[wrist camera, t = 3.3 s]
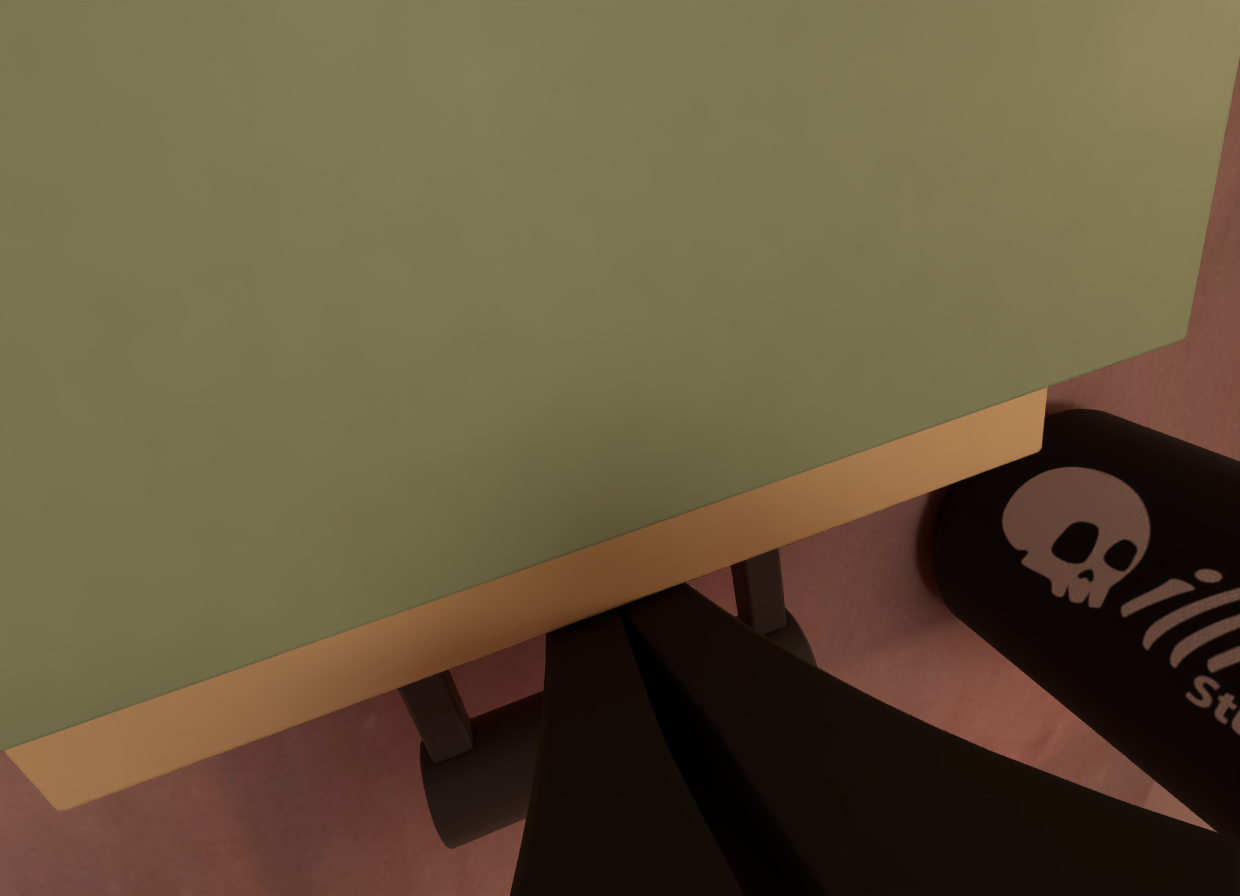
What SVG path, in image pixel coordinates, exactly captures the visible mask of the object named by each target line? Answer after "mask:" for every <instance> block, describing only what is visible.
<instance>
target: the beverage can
mask: <svg viewBox="0 0 1240 896" xmlns="http://www.w3.org/2000/svg"><path fill="white" fill-rule="evenodd" d="M933 549H934V559H935V570H936V581H937V585H938V589H939V592H940V594H941V597H942V598H943V600H944V602H945V604H946V605H947V607H948V608H949V610H950V611H951V612H952V613H953V614H954V615H955V616H956V617H957V618H958V619H960V620H961V621H962V622H963V623H964V624H966V625H967V626H968V627H969V628H971V629H972V630H973V631H974V632H975V633H977V634H978V635H979V636H980V637H981V638H983V639H984V640H985V641H986V642H988V643H989V644H990V645H991V646H992V647H994V648H995V649H996V650H997V651H998V652H1000V653H1001V654H1002V655H1003V656H1004V657H1006V658H1007V659H1008V660H1009V661H1011V662H1012V663H1013V664H1014V665H1015V666H1017V667H1018V668H1019V669H1020V670H1021V671H1023V672H1024V673H1025V674H1026V675H1028V676H1029V677H1030V678H1031V679H1032V680H1034V681H1035V682H1036V683H1037V684H1038V685H1040V686H1041V687H1042V688H1043V689H1045V690H1046V691H1047V692H1048V693H1049V694H1051V695H1052V696H1053V697H1054V698H1055V699H1057V700H1058V701H1059V702H1060V703H1061V704H1063V705H1064V706H1065V707H1066V708H1068V709H1069V710H1070V711H1071V712H1072V713H1074V714H1075V715H1076V716H1077V717H1078V718H1080V719H1081V720H1082V721H1083V722H1085V723H1086V724H1087V725H1088V726H1089V727H1091V728H1092V729H1093V730H1094V731H1095V732H1097V733H1098V734H1099V735H1100V736H1101V737H1103V738H1104V739H1105V740H1106V741H1108V742H1109V743H1110V744H1111V745H1112V746H1114V747H1115V748H1116V749H1117V750H1118V751H1120V752H1121V753H1122V754H1123V755H1125V756H1126V757H1127V758H1128V759H1129V760H1131V761H1132V762H1133V763H1134V764H1135V765H1137V766H1138V767H1139V768H1140V769H1141V770H1143V771H1144V772H1145V773H1146V774H1148V775H1149V776H1150V777H1151V778H1152V779H1154V780H1155V781H1156V782H1157V783H1159V784H1160V785H1161V786H1162V787H1163V788H1165V789H1166V790H1167V791H1168V792H1169V793H1171V794H1172V795H1173V796H1174V797H1175V798H1177V799H1178V800H1179V801H1181V803H1183V804H1184V805H1185V806H1186V807H1188V808H1189V809H1190V810H1191V811H1192V812H1194V813H1195V814H1196V815H1197V816H1198V817H1200V818H1201V819H1202V820H1203V821H1205V822H1206V823H1207V824H1209V826H1211V827H1212V828H1213V829H1214V830H1216V831H1217V832H1218V833H1220V834H1223V835H1226V836H1229V837H1232V838H1236V839H1239V840H1240V461H1237V460H1234V459H1232V458H1229V457H1226V456H1223V455H1221V454H1218V453H1215V452H1213V451H1210V450H1207V449H1204V448H1202V447H1199V446H1196V445H1194V444H1191V443H1188V442H1185V441H1183V440H1180V439H1177V438H1175V437H1172V436H1169V435H1166V434H1164V433H1161V432H1158V431H1155V430H1153V429H1150V428H1147V427H1145V426H1142V425H1139V424H1136V423H1134V422H1131V421H1128V420H1126V419H1123V418H1120V417H1117V416H1115V415H1112V414H1109V413H1107V412H1103V411H1098V410H1089V409H1077V410H1067V411H1063V412H1059V413H1055V414H1052V415H1049V416H1047V417H1045V418H1044V428H1043V438H1042V447H1041V449H1040V451H1038V452H1037V453H1034V454H1031V455H1029V456H1026V457H1023V458H1021V459H1018V460H1015V461H1012V462H1010V463H1007V464H1004V465H1002V466H999V467H996V468H993V469H991V470H988V471H985V472H983V473H980V474H977V475H974V476H972V477H969V478H966V479H964V480H961V481H958V482H955V483H954V484H953V486H952V487H951V489H950V491H949V492H948V494H947V496H946V498H945V501H944V503H943V505H942V507H941V510H940V513H939V515H938V519H937V522H936V526H935V532H934V542H933Z"/></svg>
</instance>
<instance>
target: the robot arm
mask: <svg viewBox="0 0 1240 896" xmlns="http://www.w3.org/2000/svg"><path fill="white" fill-rule="evenodd" d="M510 896H1240V840H1239V839H1236V838H1232V837H1229V836H1226V835H1223V834H1220V833H1217V832H1214V831H1211V830H1208V829H1205V828H1202V827H1199V826H1196V825H1193V824H1189V823H1186V822H1184V821H1181V820H1178V819H1175V818H1171V817H1168V816H1165V815H1162V814H1159V813H1156V812H1153V811H1150V810H1147V809H1144V808H1141V807H1138V806H1135V805H1132V804H1130V803H1127V802H1124V801H1121V800H1118V799H1116V798H1113V797H1110V796H1107V795H1105V794H1102V793H1099V792H1097V791H1094V790H1092V789H1089V788H1086V787H1084V786H1081V785H1079V784H1076V783H1073V782H1071V781H1068V780H1065V779H1063V778H1060V777H1058V776H1055V775H1052V774H1050V773H1047V772H1044V771H1042V770H1039V769H1037V768H1034V767H1031V766H1029V765H1026V764H1024V763H1021V762H1018V761H1016V760H1013V759H1010V758H1008V757H1005V756H1003V755H1000V754H997V753H995V752H992V751H990V750H987V749H985V748H983V747H980V746H978V745H976V744H973V743H971V742H969V741H967V740H964V739H962V738H960V737H957V736H955V735H953V734H951V733H948V732H946V731H944V730H941V729H939V728H937V727H935V726H932V725H930V724H928V723H926V722H924V721H922V720H920V719H918V718H915V717H913V716H911V715H909V714H907V713H905V712H903V711H901V710H899V709H896V708H894V707H892V706H890V705H888V704H886V703H884V702H882V701H880V700H878V699H876V698H874V697H872V696H870V695H868V694H866V693H864V692H862V691H860V690H858V689H856V688H855V687H853V686H851V685H849V684H847V683H845V682H843V681H841V680H840V679H838V678H836V677H834V676H832V675H830V674H829V673H827V672H825V671H823V670H822V669H820V668H818V667H816V666H814V665H813V664H811V663H809V662H807V661H806V660H804V659H802V658H800V657H799V656H797V655H795V654H793V653H792V652H790V651H788V650H787V649H785V648H783V647H782V646H780V645H778V644H777V643H775V642H773V641H772V640H770V639H769V638H767V637H765V636H764V635H762V634H761V633H759V632H758V631H756V630H755V629H753V628H751V627H750V626H748V625H747V624H745V623H744V622H742V621H741V620H739V619H737V618H736V617H734V616H733V615H731V614H730V613H728V612H727V611H725V610H724V609H722V608H721V607H719V606H718V605H716V604H715V603H713V602H712V601H711V600H709V599H708V598H706V597H705V596H703V595H702V594H701V593H699V592H698V591H696V590H695V589H694V588H692V587H691V586H689V585H688V584H687V583H685V582H684V583H681V584H679V585H676V586H673V587H671V588H668V589H665V590H662V591H660V592H657V593H654V594H652V595H649V596H646V597H643V598H641V599H638V600H635V601H633V602H630V603H627V604H624V605H622V606H619V607H616V608H614V609H611V610H608V611H605V612H603V613H600V614H597V615H595V616H592V617H589V618H586V619H584V620H581V621H578V622H576V623H573V624H570V625H567V626H565V627H562V628H559V629H557V630H554V631H551V632H548V633H546V664H545V678H544V692H543V706H542V717H541V726H540V734H539V741H538V748H537V755H536V761H535V768H534V775H533V782H532V789H531V795H530V801H529V807H528V812H527V817H526V822H525V828H524V833H523V838H522V843H521V848H520V852H519V857H518V861H517V866H516V870H515V875H514V879H513V884H512V888H511V892H510Z"/></svg>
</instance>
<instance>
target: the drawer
mask: <svg viewBox="0 0 1240 896" xmlns="http://www.w3.org/2000/svg"><path fill="white" fill-rule="evenodd" d="M1047 388H1048V387H1047ZM1047 388H1044V389H1041V390H1038V391H1035V392H1033V393H1030V394H1027V395H1024V396H1021V397H1018V398H1015V399H1012V400H1010V401H1007V402H1004V403H1001V404H998V405H995V406H992V407H989V408H987V409H984V410H981V411H978V412H975V413H972V414H969V415H966V416H964V417H961V418H958V419H955V420H952V421H949V422H946V423H944V424H941V425H938V426H935V427H932V428H929V429H926V430H923V431H921V432H918V433H915V434H912V435H909V436H906V437H903V438H900V439H898V440H895V441H892V442H889V443H886V444H883V445H880V446H877V447H875V448H872V449H869V450H866V451H863V452H860V453H857V454H854V455H852V456H849V457H846V458H843V459H840V460H837V461H834V462H832V463H829V464H826V465H823V466H820V467H817V468H814V469H811V470H809V471H806V472H803V473H800V474H797V475H794V476H791V477H788V478H786V479H783V480H780V481H777V482H774V483H771V484H768V485H765V486H763V487H760V488H757V489H754V490H751V491H748V492H745V493H743V494H740V495H737V496H734V497H731V498H728V499H725V500H722V501H720V502H717V503H714V504H711V505H708V506H705V507H702V508H699V509H697V510H694V511H691V512H688V513H685V514H682V515H679V516H676V517H674V518H671V519H668V520H665V521H662V522H659V523H656V524H653V525H651V526H648V527H645V528H642V529H639V530H636V531H633V532H631V533H628V534H625V535H622V536H619V537H616V538H613V539H610V540H608V541H605V542H602V543H599V544H596V545H593V546H590V547H587V548H585V549H582V550H579V551H576V552H573V553H570V554H567V555H564V556H562V557H559V558H556V559H553V560H550V561H547V562H544V563H541V564H539V565H536V566H533V567H530V568H527V569H524V570H521V571H519V572H516V573H513V574H510V575H507V576H504V577H501V578H498V579H496V580H493V581H490V582H487V583H484V584H481V585H478V586H475V587H473V588H470V589H467V590H464V591H461V592H458V593H455V594H452V595H450V596H447V597H444V598H441V599H438V600H435V601H432V602H430V603H427V604H424V605H421V606H418V607H415V608H412V609H409V610H407V611H404V612H401V613H398V614H395V615H392V616H389V617H386V618H384V619H381V620H378V621H375V622H372V623H369V624H366V625H363V626H361V627H358V628H355V629H352V630H349V631H346V632H343V633H340V634H338V635H335V636H332V637H329V638H326V639H323V640H320V641H318V642H315V643H312V644H309V645H306V646H303V647H300V648H297V649H295V650H292V651H289V652H286V653H283V654H280V655H277V656H274V657H272V658H269V659H266V660H263V661H260V662H257V663H254V664H251V665H249V666H246V667H243V668H240V669H237V670H234V671H231V672H229V673H226V674H223V675H220V676H217V677H214V678H211V679H208V680H206V681H203V682H200V683H197V684H194V685H191V686H188V687H185V688H183V689H180V690H177V691H174V692H171V693H168V694H165V695H162V696H160V697H157V698H154V699H151V700H148V701H145V702H142V703H139V704H137V705H134V706H131V707H128V708H125V709H122V710H119V711H117V712H114V713H111V714H108V715H105V716H102V717H99V718H96V719H94V720H91V721H88V722H85V723H82V724H79V725H76V726H73V727H71V728H68V729H65V730H62V731H59V732H56V733H53V734H50V735H48V736H45V737H42V738H39V739H36V740H33V741H30V742H28V743H25V744H22V745H19V746H16V747H13V748H10V749H7V750H5V751H4V752H5V753H6V754H7V755H8V757H9V758H10V759H11V760H12V761H13V762H14V763H15V764H16V766H17V767H18V768H19V769H20V770H21V771H22V772H23V773H24V775H25V776H26V777H27V778H28V779H29V780H30V781H31V782H32V784H33V785H34V786H35V787H36V788H37V789H38V790H39V791H40V792H41V794H42V795H43V796H44V797H45V798H46V799H47V800H48V801H49V803H50V804H51V805H52V806H53V807H54V808H55V809H56V810H59V811H66V810H68V809H71V808H74V807H76V806H79V805H82V804H85V803H87V802H90V801H93V800H95V799H98V798H101V797H104V796H106V795H109V794H112V793H114V792H117V791H120V790H123V789H125V788H128V787H131V786H133V785H136V784H139V783H142V782H144V781H147V780H150V779H152V778H155V777H158V776H161V775H163V774H166V773H169V772H171V771H174V770H177V769H180V768H182V767H185V766H188V765H190V764H193V763H196V762H199V761H201V760H204V759H207V758H209V757H212V756H215V755H218V754H220V753H223V752H226V751H228V750H231V749H234V748H237V747H239V746H242V745H245V744H247V743H250V742H253V741H256V740H258V739H261V738H264V737H266V736H269V735H272V734H275V733H277V732H280V731H283V730H285V729H288V728H291V727H293V726H296V725H299V724H302V723H304V722H307V721H310V720H312V719H315V718H318V717H321V716H323V715H326V714H329V713H331V712H334V711H337V710H340V709H342V708H345V707H348V706H350V705H353V704H356V703H359V702H361V701H364V700H367V699H369V698H372V697H375V696H378V695H380V694H383V693H386V692H388V691H391V690H394V689H397V688H398V690H399V692H400V694H401V696H402V698H403V700H404V702H405V704H406V707H407V709H408V711H409V713H410V715H411V717H412V719H413V721H414V723H415V726H416V728H417V730H418V732H419V734H420V736H421V738H422V740H421V744H420V766H421V773H422V780H423V785H424V790H425V794H426V799H427V802H428V806H429V810H430V813H431V816H432V819H433V822H434V825H435V827H436V830H437V832H438V834H439V836H440V838H441V840H442V841H443V843H444V844H445V846H446V847H447V848H450V849H454V848H456V847H458V846H461V845H463V844H466V843H468V842H470V841H473V840H475V839H478V838H480V837H482V836H485V835H487V834H489V833H492V832H494V831H497V830H499V829H501V828H504V827H506V826H509V825H511V824H513V823H516V822H518V821H520V820H523V819H525V818H526V817H527V812H528V807H529V801H530V795H531V789H532V782H533V775H534V768H535V761H536V755H537V748H538V741H539V734H540V726H541V717H542V706H543V692H544V691H541V692H539V693H536V694H533V695H531V696H528V697H526V698H523V699H520V700H518V701H515V702H513V703H510V704H507V705H505V706H502V707H500V708H497V709H494V710H492V711H489V712H487V713H484V714H481V715H479V716H476V717H474V718H471V719H469V717H468V714H467V712H466V709H465V707H464V705H463V702H462V700H461V697H460V695H459V693H458V690H457V688H456V686H455V683H454V681H453V678H452V676H451V674H450V671H449V669H451V668H454V667H456V666H459V665H462V664H464V663H467V662H470V661H473V660H475V659H478V658H481V657H483V656H486V655H489V654H492V653H494V652H497V651H500V650H502V649H505V648H508V647H511V646H513V645H516V644H519V643H521V642H524V641H527V640H530V639H532V638H535V637H538V636H540V635H543V634H546V633H548V632H551V631H554V630H557V629H559V628H562V627H565V626H567V625H570V624H573V623H576V622H578V621H581V620H584V619H586V618H589V617H592V616H595V615H597V614H600V613H603V612H605V611H608V610H611V609H614V608H616V607H619V606H622V605H624V604H627V603H630V602H633V601H635V600H638V599H641V598H643V597H646V596H649V595H652V594H654V593H657V592H660V591H662V590H665V589H668V588H671V587H673V586H676V585H679V584H681V583H684V582H687V581H690V580H692V579H695V578H698V577H700V576H703V575H706V574H709V573H711V572H714V571H717V570H719V569H722V568H725V567H728V566H730V565H731V571H732V577H733V584H734V591H735V597H736V604H737V611H738V616H736V618H737V619H739V620H741V621H742V622H744V623H745V624H747V625H748V626H750V627H751V628H753V629H755V630H756V631H758V632H759V633H761V634H762V635H764V636H765V637H767V638H769V639H770V640H772V641H773V642H775V643H777V644H778V645H780V646H782V647H783V648H785V649H787V650H788V651H790V652H792V653H793V654H795V655H797V656H799V657H800V658H802V659H804V660H806V661H807V662H809V663H811V664H813V665H814V666H816V667H817V665H816V661H815V658H814V655H813V653H812V650H811V648H810V645H809V643H808V641H807V639H806V637H805V635H804V633H803V631H802V629H801V628H800V626H799V625H798V623H797V621H796V620H795V619H794V617H793V616H792V615H791V613H790V612H789V611H788V610H787V609H786V608H785V604H784V595H783V585H782V576H781V567H780V558H779V549H778V548H779V547H782V546H785V545H787V544H790V543H793V542H795V541H798V540H801V539H803V538H806V537H809V536H812V535H814V534H817V533H820V532H822V531H825V530H828V529H831V528H833V527H836V526H839V525H841V524H844V523H847V522H850V521H852V520H855V519H858V518H860V517H863V516H866V515H869V514H871V513H874V512H877V511H879V510H882V509H885V508H888V507H890V506H893V505H896V504H898V503H901V502H904V501H907V500H909V499H912V498H915V497H917V496H920V495H923V494H926V493H928V492H931V491H934V490H936V489H939V488H942V487H945V486H947V485H950V484H953V483H955V482H958V481H961V480H964V479H966V478H969V477H972V476H974V475H977V474H980V473H983V472H985V471H988V470H991V469H993V468H996V467H999V466H1002V465H1004V464H1007V463H1010V462H1012V461H1015V460H1018V459H1021V458H1023V457H1026V456H1029V455H1031V454H1034V453H1037V452H1038V451H1040V449H1041V447H1042V438H1043V428H1044V418H1045V408H1046V398H1047Z"/></svg>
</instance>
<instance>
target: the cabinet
mask: <svg viewBox="0 0 1240 896" xmlns="http://www.w3.org/2000/svg"><path fill="white" fill-rule="evenodd" d="M1239 58H1240V0H0V752H2V751H5V750H7V749H10V748H13V747H16V746H19V745H22V744H25V743H28V742H30V741H33V740H36V739H39V738H42V737H45V736H48V735H50V734H53V733H56V732H59V731H62V730H65V729H68V728H71V727H73V726H76V725H79V724H82V723H85V722H88V721H91V720H94V719H96V718H99V717H102V716H105V715H108V714H111V713H114V712H117V711H119V710H122V709H125V708H128V707H131V706H134V705H137V704H139V703H142V702H145V701H148V700H151V699H154V698H157V697H160V696H162V695H165V694H168V693H171V692H174V691H177V690H180V689H183V688H185V687H188V686H191V685H194V684H197V683H200V682H203V681H206V680H208V679H211V678H214V677H217V676H220V675H223V674H226V673H229V672H231V671H234V670H237V669H240V668H243V667H246V666H249V665H251V664H254V663H257V662H260V661H263V660H266V659H269V658H272V657H274V656H277V655H280V654H283V653H286V652H289V651H292V650H295V649H297V648H300V647H303V646H306V645H309V644H312V643H315V642H318V641H320V640H323V639H326V638H329V637H332V636H335V635H338V634H340V633H343V632H346V631H349V630H352V629H355V628H358V627H361V626H363V625H366V624H369V623H372V622H375V621H378V620H381V619H384V618H386V617H389V616H392V615H395V614H398V613H401V612H404V611H407V610H409V609H412V608H415V607H418V606H421V605H424V604H427V603H430V602H432V601H435V600H438V599H441V598H444V597H447V596H450V595H452V594H455V593H458V592H461V591H464V590H467V589H470V588H473V587H475V586H478V585H481V584H484V583H487V582H490V581H493V580H496V579H498V578H501V577H504V576H507V575H510V574H513V573H516V572H519V571H521V570H524V569H527V568H530V567H533V566H536V565H539V564H541V563H544V562H547V561H550V560H553V559H556V558H559V557H562V556H564V555H567V554H570V553H573V552H576V551H579V550H582V549H585V548H587V547H590V546H593V545H596V544H599V543H602V542H605V541H608V540H610V539H613V538H616V537H619V536H622V535H625V534H628V533H631V532H633V531H636V530H639V529H642V528H645V527H648V526H651V525H653V524H656V523H659V522H662V521H665V520H668V519H671V518H674V517H676V516H679V515H682V514H685V513H688V512H691V511H694V510H697V509H699V508H702V507H705V506H708V505H711V504H714V503H717V502H720V501H722V500H725V499H728V498H731V497H734V496H737V495H740V494H743V493H745V492H748V491H751V490H754V489H757V488H760V487H763V486H765V485H768V484H771V483H774V482H777V481H780V480H783V479H786V478H788V477H791V476H794V475H797V474H800V473H803V472H806V471H809V470H811V469H814V468H817V467H820V466H823V465H826V464H829V463H832V462H834V461H837V460H840V459H843V458H846V457H849V456H852V455H854V454H857V453H860V452H863V451H866V450H869V449H872V448H875V447H877V446H880V445H883V444H886V443H889V442H892V441H895V440H898V439H900V438H903V437H906V436H909V435H912V434H915V433H918V432H921V431H923V430H926V429H929V428H932V427H935V426H938V425H941V424H944V423H946V422H949V421H952V420H955V419H958V418H961V417H964V416H966V415H969V414H972V413H975V412H978V411H981V410H984V409H987V408H989V407H992V406H995V405H998V404H1001V403H1004V402H1007V401H1010V400H1012V399H1015V398H1018V397H1021V396H1024V395H1027V394H1030V393H1033V392H1035V391H1038V390H1041V389H1044V388H1047V387H1050V386H1053V385H1055V384H1058V383H1061V382H1064V381H1067V380H1070V379H1073V378H1076V377H1078V376H1081V375H1084V374H1087V373H1090V372H1093V371H1096V370H1099V369H1101V368H1104V367H1107V366H1110V365H1113V364H1116V363H1119V362H1122V361H1124V360H1127V359H1130V358H1133V357H1136V356H1139V355H1142V354H1145V353H1147V352H1150V351H1153V350H1156V349H1159V348H1162V347H1165V346H1167V345H1170V344H1173V343H1176V342H1179V341H1182V340H1183V339H1184V338H1185V337H1186V334H1187V329H1188V324H1189V319H1190V313H1191V308H1192V303H1193V298H1194V292H1195V287H1196V282H1197V277H1198V272H1199V266H1200V261H1201V256H1202V251H1203V246H1204V240H1205V235H1206V230H1207V225H1208V220H1209V214H1210V209H1211V204H1212V199H1213V193H1214V188H1215V183H1216V178H1217V173H1218V167H1219V162H1220V157H1221V152H1222V147H1223V141H1224V136H1225V131H1226V126H1227V121H1228V115H1229V110H1230V105H1231V100H1232V94H1233V89H1234V84H1235V79H1236V74H1237V68H1238V63H1239Z"/></svg>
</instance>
